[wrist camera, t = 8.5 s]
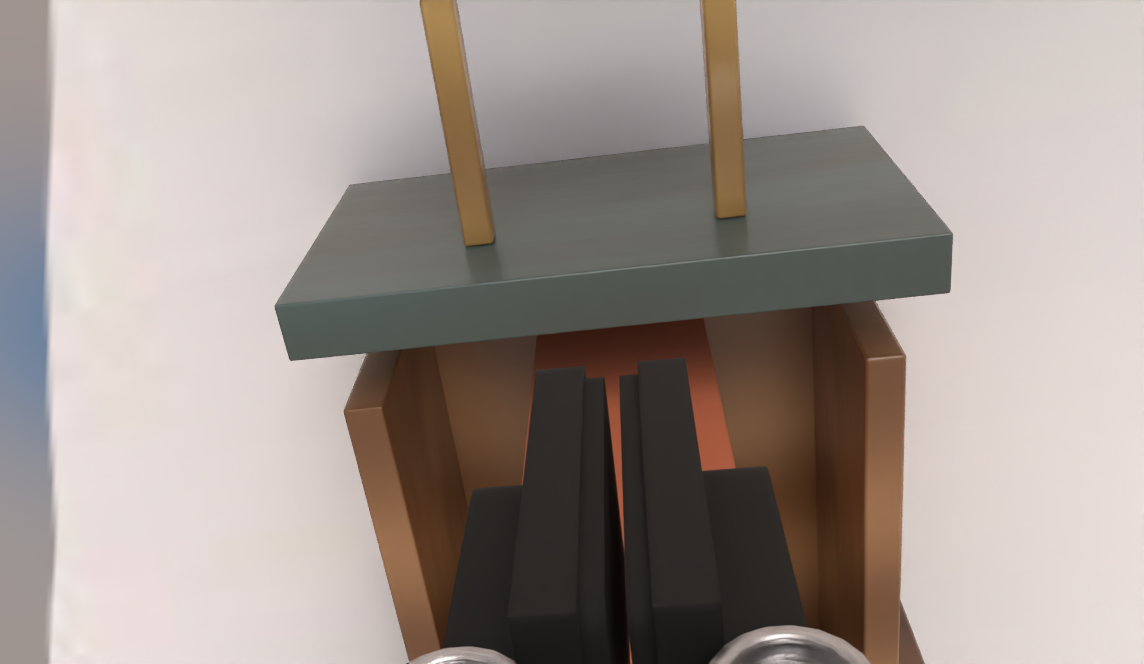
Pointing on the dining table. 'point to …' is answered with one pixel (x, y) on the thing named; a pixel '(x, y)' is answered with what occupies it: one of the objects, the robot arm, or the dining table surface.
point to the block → (619, 355)
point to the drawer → (630, 324)
